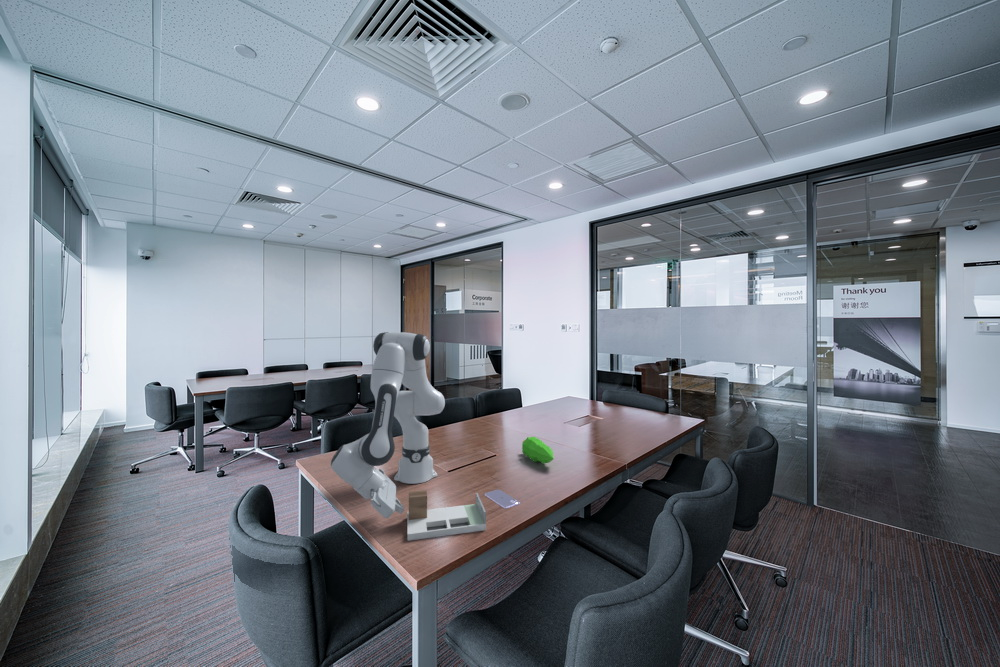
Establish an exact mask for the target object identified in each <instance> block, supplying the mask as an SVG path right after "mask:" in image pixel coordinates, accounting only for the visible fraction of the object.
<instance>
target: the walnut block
mask: <svg viewBox="0 0 1000 667" xmlns="http://www.w3.org/2000/svg"><path fill="white" fill-rule="evenodd" d="M427 510H428V493H427V489H420V490H411V491H408V512H409V520H414V519H422V518H427Z"/></svg>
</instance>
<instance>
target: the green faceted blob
mask: <svg viewBox="0 0 1000 667" xmlns="http://www.w3.org/2000/svg"><path fill="white" fill-rule="evenodd" d="M521 447H522V448H521V450H522V451H521V452H522V453H523V454H524V455H525V457H526V458H529V459H530V460H532V462H534V463H536V462H537V461H538V462H540V463H541V464H544V465H545V464H549V463H551V462H552V461H553V460H554V452H553V449H552V448H551V447H550V446H548V445H547V444H546V443H544V442H543V440H541V439H540V438H538V437H536V436H527V438H525V439H523V441H522V446H521Z"/></svg>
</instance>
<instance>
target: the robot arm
mask: <svg viewBox="0 0 1000 667" xmlns="http://www.w3.org/2000/svg"><path fill="white" fill-rule="evenodd" d="M372 344H373V345H372V348H373V352H374V354H375V359H374V362H373V365H372V369H371V373H370V374H371V375H370V391H371V393H372V394H373V398H374V402H375V403H374V404H375V407H374V413H373V418H372V424H371V429H370V432H369V433H367V434H365V435H363V436H362V437H360V438H359V439H356V440H355V441H352V442H349V443H347V444H342V445H341V446H340V447H339V448H338V449H337V450H336V451H335V454H334V455H333V456H332V458H331V459H330V467H331V470H332V471H333V472H334V473H335V474H336V475H337V476H338V478H340V479H341V480H342V481H344V482H345V483H347V484H349V485H350V486H352V488H353V489H354V491H355V492H357V493H358V494H359V495H360V496H362V497H363V498H364V499H365V500H369V499H370V504H371V507H373V509H374V510H375V511H377V512H378V513H379V514H380V515H381V516H382V517H383V518H384V519H389V518H390V517H391V516H392V515H394V514H393V513H394V512H397V513H398V514H403V513H404V510H405V505H403V504H402V503H401V501H400V500H399V499H398V497H397V485H396V484H395V483H394V481H396V482H400V483H403V484H407V485H410V484H411V485H412V484H413V485H415V484H416V485H417V484H421V483H425V482H428V481H430V480H432V479H433V478H436V477H438V473H437V472H436V470H435V469H434V458H433V457H432V456H431V455H430V453H431V452H430V444H429V429H428V427H427V425H426V424H424V423H423V422H420V421H419V420H418V419H417V417H416V416H418V417H419V416H435V415H438V414H441V413H442V412H443V410H444V409H445V405H446V400H445V396H444V395H443V393H442V392H440V391H438V389H435V387H434V386H432V384H431V382H430V381H429V379H428V375H427V368H426V358H428V357H429V353H430V350H431V345H430V344H431V343H430V340H429V338H428V337H427V336H426V335H424V334H421V333H412V332H404V331H402V332H388V331H387V332H386V331H385V332H381V333H378V335H376V336H375V337H374V341H373V343H372ZM402 385H403V387H405V388H407V389H408V390H400V389H401V387H402ZM394 418H395V419H396V420H397V421H398V423H399V425H400V427H401V431H402V442H403V443H402V444H403V445H402V447H401V448H402V450H401V458H400V459H399V460H398V464H397V465H398V469H397V472H396V474H395V476H394V477H393V480H394V481H392V479H391V478H389V476H388V475H387V474H385V471H384V470H383V469H382V468H378V469H377V468H376V467H379V466H383V465H385V464H387V463H388V462H389V461H390V460H391V458H392V457H393V455H395V454H394V453H395V448H396V447H395V445H396V444H395V441H394V437H393V424H394Z"/></svg>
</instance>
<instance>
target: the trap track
mask: <svg viewBox="0 0 1000 667" xmlns="http://www.w3.org/2000/svg"><path fill="white" fill-rule="evenodd" d="M406 514H407V515H406V518H407V519H406V520H407V523H406V524H407V528H406V529H407V533H406V534H407V535H406V536H407V541H415V540H417V541H418V540H424V539H430V538H437V537H439V538H440V537H445V536H452V535H458V534H466V533H474V532H475V533H476V532H481V531H487V511H486V508H485V507H484V504H483V502H482V500H481V497H480V495H479V493H478V492H475V503H472V504H465V505H455V506H454V505H453V506H446V507H439V508H438V507H437V508H430V509H429V508H427V518H422V519H414V520H409V511H407V512H406Z"/></svg>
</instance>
